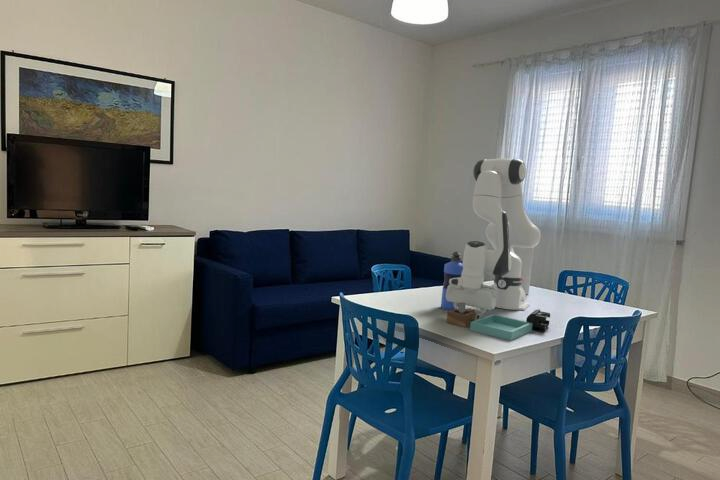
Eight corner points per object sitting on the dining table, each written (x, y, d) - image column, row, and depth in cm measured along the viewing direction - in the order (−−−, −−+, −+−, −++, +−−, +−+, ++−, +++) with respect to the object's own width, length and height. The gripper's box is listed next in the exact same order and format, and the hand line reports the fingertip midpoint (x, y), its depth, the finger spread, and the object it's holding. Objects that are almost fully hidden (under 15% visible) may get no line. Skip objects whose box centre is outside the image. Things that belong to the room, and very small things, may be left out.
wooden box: (462, 317, 213) (463, 306, 212) (480, 322, 208) (481, 310, 207) (446, 322, 203) (447, 311, 202) (465, 327, 198) (466, 315, 197)
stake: (459, 322, 205) (461, 302, 204) (464, 323, 203) (466, 303, 203) (456, 323, 203) (458, 303, 202) (461, 324, 202) (463, 304, 201)
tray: (492, 321, 210) (493, 314, 210) (531, 330, 200) (532, 323, 200) (469, 330, 194) (470, 321, 194) (511, 340, 184) (511, 332, 184)
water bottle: (436, 307, 228) (441, 250, 225) (448, 304, 235) (453, 249, 232) (454, 312, 222) (460, 253, 219) (466, 309, 228) (471, 252, 226)
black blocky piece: (530, 324, 211) (532, 308, 210) (548, 328, 207) (550, 311, 207) (525, 329, 202) (527, 312, 201) (544, 333, 199) (546, 315, 198)
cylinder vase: (505, 293, 273) (510, 246, 270) (503, 289, 285) (508, 243, 282) (530, 296, 271) (535, 248, 268) (526, 291, 283) (531, 246, 280)
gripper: (500, 286, 203) (496, 321, 204) (453, 277, 215) (449, 310, 217) (493, 288, 198) (489, 323, 199) (445, 278, 210) (442, 312, 212)
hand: (468, 316), depth 208 cm, fingers open, 8 cm apart
